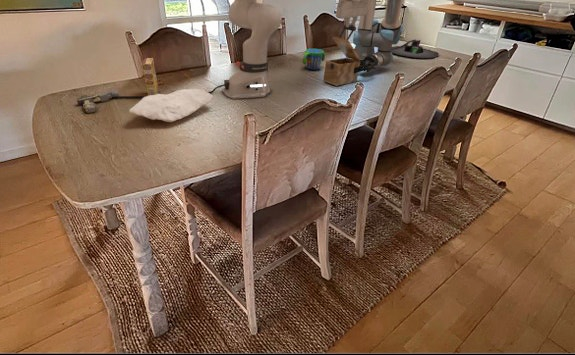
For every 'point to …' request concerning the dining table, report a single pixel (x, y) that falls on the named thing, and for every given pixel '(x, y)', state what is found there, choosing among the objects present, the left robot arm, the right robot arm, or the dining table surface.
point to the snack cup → (313, 58)
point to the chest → (340, 71)
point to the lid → (347, 44)
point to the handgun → (95, 100)
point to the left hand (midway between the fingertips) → (350, 26)
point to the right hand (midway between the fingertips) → (347, 68)
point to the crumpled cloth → (171, 104)
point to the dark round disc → (414, 51)
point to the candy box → (150, 76)
